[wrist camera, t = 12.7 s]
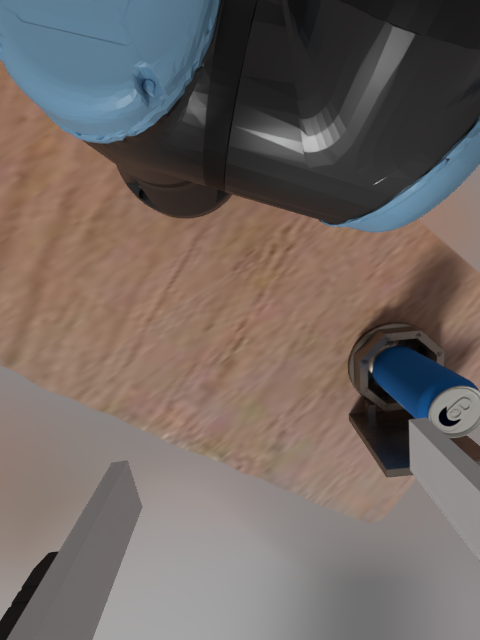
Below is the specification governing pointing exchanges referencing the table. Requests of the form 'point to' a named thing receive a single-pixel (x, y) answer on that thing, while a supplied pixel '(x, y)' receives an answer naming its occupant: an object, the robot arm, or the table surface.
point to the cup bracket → (391, 398)
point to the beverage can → (429, 390)
